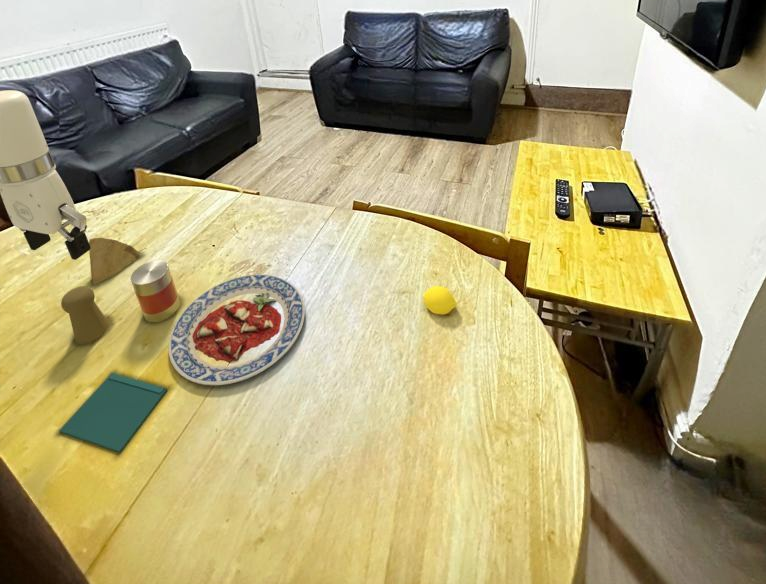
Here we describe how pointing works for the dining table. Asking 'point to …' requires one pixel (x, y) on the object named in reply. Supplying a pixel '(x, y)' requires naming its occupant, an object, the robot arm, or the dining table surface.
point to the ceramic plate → (235, 329)
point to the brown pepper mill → (84, 314)
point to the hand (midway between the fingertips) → (61, 249)
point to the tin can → (155, 290)
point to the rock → (109, 257)
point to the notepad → (114, 412)
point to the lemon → (439, 300)
